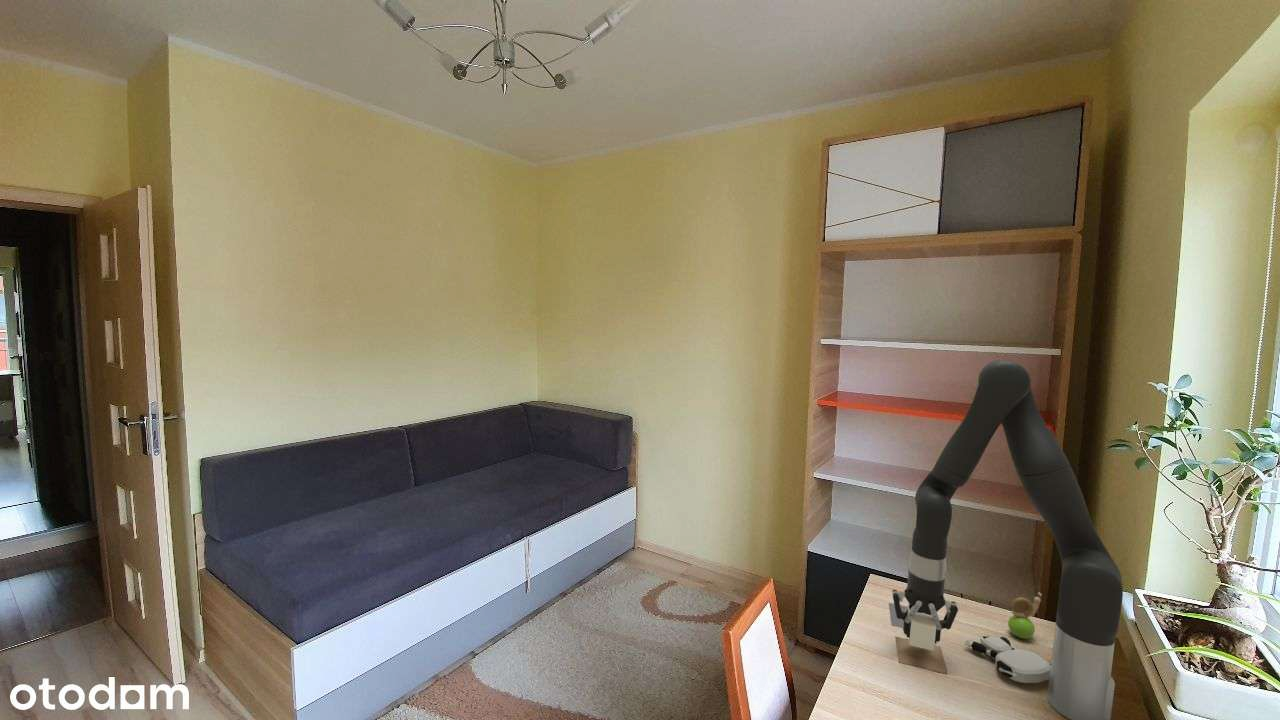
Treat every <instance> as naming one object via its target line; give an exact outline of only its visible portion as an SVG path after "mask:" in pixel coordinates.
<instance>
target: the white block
mask: <svg viewBox="0 0 1280 720" xmlns="http://www.w3.org/2000/svg"><path fill="white" fill-rule="evenodd" d="M910 622H911V628H910V638H909V637H908V639H909V643H910V645H911V646H915V647H919V648H924V649H928V650H932V651H934V646H935V635H936V624H935V623H934V621H933V618H932V615H927V614H925V613H918V612H917V613H916V615H915V616H914V617H913V618H911V621H910Z"/></svg>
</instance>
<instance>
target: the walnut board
mask: <svg viewBox="0 0 1280 720" xmlns="http://www.w3.org/2000/svg"><path fill="white" fill-rule="evenodd" d="M894 637H895V644H896V645H895V646H896V651H897V653H896V654H897V659H898V664H902V665H906V666H910V667H913V668H917V669H922V670H926V671H931V672H935V673H939V674H943V675H945V676H946V675H947V676H948V675H949V672H948V669H947V666H946V662H945V661H946V660H945V659H944V654H943V650H942V647H941V645H935V646H934V651H932V650H928V649H924V648H919V647H915V646H911V645H910V643H909V638H904V637H902V636H901V637H899V636H897V635H895V636H894Z"/></svg>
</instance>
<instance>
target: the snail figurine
mask: <svg viewBox="0 0 1280 720" xmlns="http://www.w3.org/2000/svg"><path fill="white" fill-rule="evenodd" d="M1037 594H1038V596H1035V597H1034V599H1033V603H1032V602H1031V600H1030V599H1028V598H1026V597H1023V596H1022V597H1021V596H1019V597H1016V598H1014V599H1013V600H1012V602H1011V608H1012V609H1013V610H1012V611H1011V613H1012V615H1011V616H1010V617H1009V618H1008V620H1007V621H1008V622H1007V625H1008V629H1009V630H1010V632H1011V634H1013V635H1014V636H1015V637H1017V638H1019V639H1023V640H1024V639H1025V640H1026V639H1030V638H1032V637H1033V636H1034V635H1035V632H1036V628H1035V625H1034V623H1033V621H1032V620H1031V619H1030V618H1031V617H1033V616H1035V614H1036V612H1038V609H1039V607H1040V603H1041V601H1042V599H1041V598H1042V596H1043V595H1042V593H1041V592H1037Z"/></svg>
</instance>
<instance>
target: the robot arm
mask: <svg viewBox="0 0 1280 720" xmlns="http://www.w3.org/2000/svg"><path fill="white" fill-rule="evenodd" d="M977 379H978V380H977V381H978V382H977V383H978V385H977V387H976V391H975V393H974V396H973V400H972V402H971V404H970V406H969V409H968V410H967V412H966V414H965V416H964V418H963V419H962V421H961V422H960V424H959V426H958V427H957V428H956V429H955V431H954V433H953V434H952V436H951V437H950V438H949V440H948V441H947V442H946V444H945V446H944V448H943V450H942V451H941V453H940V455H939V457H938V459H937V460H936V462H935V463H934V466H933V468H932V469H931V470H930V472H928V474H927V476H926V477H924V479H923V481H922V482H921V483H920V485H919V487H918V488H917V490H916V492H915V497H914V500H915V501H914V502H915V505H916V506H915V507H916V517H915V518H916V521H915V527H914V530H913V533H912V541H911V551H910V556H909V562H908V573H907V574H908V575H907V583H906V588H905V589H904V591H898V590H897V589H893V590H891V591H892V592H891V593H892V598H893V604H894V605H895V611H896V616H897V618H898V619H902V620H904V624H903V628H902V631H903V634H904V635H905V636H906V638H908V639H909V638H910V628H911V622H910V621H911V618H913V617H914V616H915V615H916V613H917V612H918V613H925V614H927V615H932V618H933V621H934V623H935V624H936V635H935V644H938V643H939V642H940V641H941V634H942V632H941V631H942V630H943V629H946V630H950V629H951V628H952V626H953V623H954V621H955V619H956V616H957V614H958V612H959V608H958V605H957V603H956V601H953V600H952V601H948V600H946V599H945V597H944V595H945V594H944V592H945V584H946V583H945V582H946V577H947V549H948V536H949V533H950V528H951V524H952V518H953V506H952V503H951V500H952V498H953V496H954V494H955V493H956V491H957V490H958V489H959V488H962V487H964V486H965V485H966V484H967V483H968V481H969V480H970V478H971V476H972V475H973V472H974V471H975V470H976V467H977V466H978V464H979V462H980V461H981V458H982V457H983V455H984V453H985V451H986V449H987V447H988V446H989V444H990V442H991V440H992V438H993V436H994V435H995V433H996V431H997V430H998V428H999V427H1000V425H1001V426H1002V429H1003V431H1004V435H1005V439H1006V442H1007V446H1008V450H1009V454H1010V456H1011V460H1012V463H1013V466H1014V468H1015V471H1016V474H1017V475H1018V478H1019V480H1020V483H1021V485H1022V486H1023V489H1024V492H1025V494H1026V496H1027V498H1028V499H1029V501H1030V503H1031V504H1032V505H1033V507H1034V508H1035V509H1036V511H1037V512H1038V514H1039V515H1040V516H1041V517H1042V519H1043V520H1044V521H1045V523H1046V525H1047V526H1048V528H1049V529H1050V532H1051V534H1052V536H1053V539H1054V541H1055V544H1056V548H1057V550H1058V554H1059V556H1060V560H1061V561H1060V562H1061V566H1062V567H1061V576H1060V582H1059V583H1060V584H1059V593H1058V594H1059V595H1058V603H1057V608H1056V619H1055V628H1054V636H1053V643H1052V644H1053V645H1052V653H1051V661H1050V664H1051V665H1050V666H1051V670H1050V678H1049V679H1048V687H1047V696H1046V697H1047V699H1046V700H1047V702H1048V703H1049V705H1050V706H1051V707H1052V708H1053V710H1055V711H1056V712H1058V713H1059V714H1060V715H1062V717H1063V716H1064V717H1066V718H1067V719H1069V720H1111V718H1112V717H1111V716H1112V709H1113V702H1114V694H1115V688H1116V687H1115V685H1116V682H1115V680H1114V678H1113V677H1112V676H1111V675H1112V670H1113V669H1112V668H1113V662H1114V661H1113V660H1114V650H1115V645H1116V637H1117V634H1118V632H1119V631H1118V630H1119V627H1120V620H1121V619H1120V618H1121V611H1122V607H1123V606H1122V604H1123V598H1124V597H1123V596H1124V588H1123V580H1122V579H1123V578H1122V575H1121V571H1120V569H1119V567H1118V565H1117V564H1116V563H1115V560H1114V559H1113V557H1112V556H1111V555H1110V553H1109V551H1108V549H1107V548H1106V546H1105V545H1104V542H1103V541H1102V539H1101V537H1100V535H1099V534H1098V531H1097V529H1095V526H1094V525H1093V521H1092V520H1091V517H1090V513H1089V510H1088V507H1087V504H1086V501H1085V497H1084V495H1083V493H1082V492H1083V491H1082V489H1081V487H1080V485H1079V482H1078V480H1077V478H1076V475H1075V473H1074V470H1073V468H1072V467H1071V465H1070V462H1069V459H1068V458H1067V456H1066V454H1065V452H1064V450H1063V448H1062V447H1061V445H1060V444H1059V442H1058V441H1057V439H1056V437H1055V436H1054V434H1053V433H1052V431H1051V429H1049V427H1048V426H1047V424H1046V422H1045V420H1044V419H1043V417H1042V415H1041V413H1040V410H1039V408H1038V405H1037V403H1036V399H1035V397H1034V394H1033V390H1032V388H1031V387H1032V379H1031V376H1030V373H1029V371H1028V370H1027V369H1026V368H1025V367H1024V366H1023V365H1022V364H1020V363H1018V362H1016V361H1014V360H1010V359H996V360H994V361H991V362H989V363H987V364H986V365H985V366H984V367H983V368H982V369H981V370H980V372H979V374H978V378H977ZM904 598H905V599H906V601H907V602H908V604H907V606H906V607H907V609H906V611H905V612H903V611H901V607H900V605H901V603H902V602H903V601H904ZM943 607H945V610H946V613H945V615H944V617H943V619H941V620H940V618H939V614H938V612H939V611H940V610H941V609H942V608H943Z"/></svg>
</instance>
